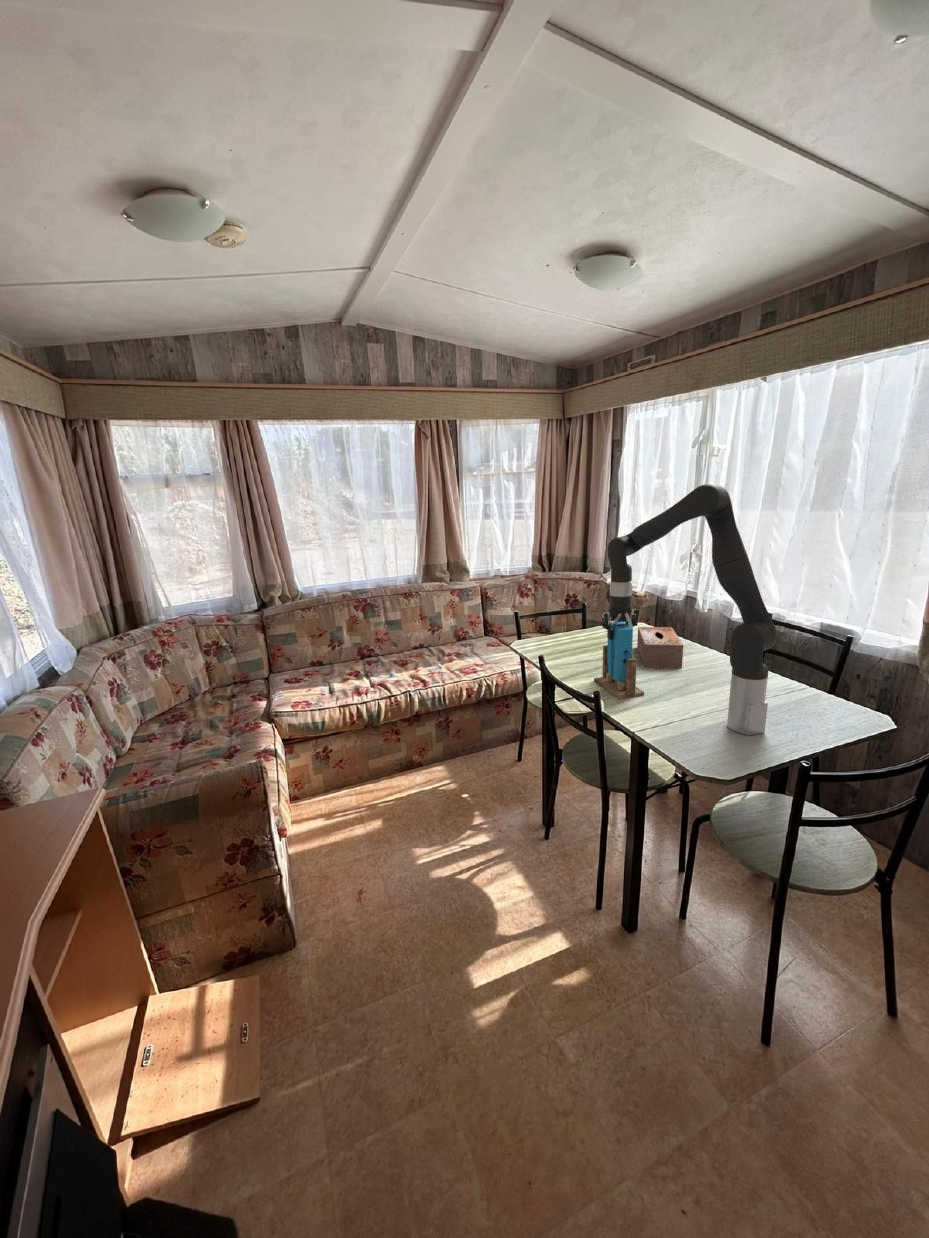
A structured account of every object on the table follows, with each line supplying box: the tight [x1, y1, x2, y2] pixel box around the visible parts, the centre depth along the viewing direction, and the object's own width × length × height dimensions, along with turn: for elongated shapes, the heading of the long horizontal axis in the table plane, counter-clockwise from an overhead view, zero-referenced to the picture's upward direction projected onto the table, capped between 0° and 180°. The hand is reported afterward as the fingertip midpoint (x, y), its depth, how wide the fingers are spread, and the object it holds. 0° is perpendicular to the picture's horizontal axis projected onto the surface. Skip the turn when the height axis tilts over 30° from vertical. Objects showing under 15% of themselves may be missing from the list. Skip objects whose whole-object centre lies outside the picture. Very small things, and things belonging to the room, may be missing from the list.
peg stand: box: [593, 644, 645, 700], centre depth 181 cm, size 10×18×14 cm, turn 13°
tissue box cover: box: [636, 626, 684, 669], centre depth 211 cm, size 26×14×10 cm, turn 167°
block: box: [607, 620, 634, 682], centre depth 179 cm, size 12×5×20 cm, turn 5°
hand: (619, 638), depth 178 cm, fingers open, 6 cm apart
